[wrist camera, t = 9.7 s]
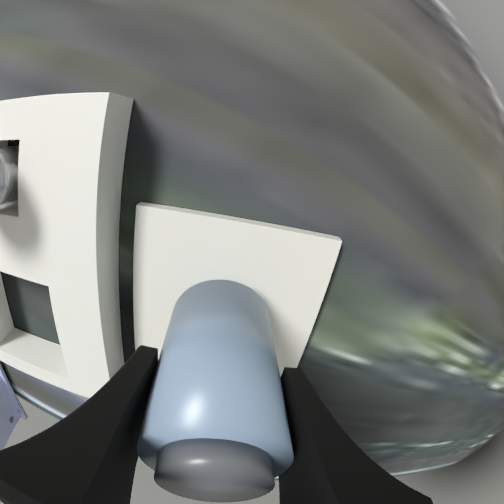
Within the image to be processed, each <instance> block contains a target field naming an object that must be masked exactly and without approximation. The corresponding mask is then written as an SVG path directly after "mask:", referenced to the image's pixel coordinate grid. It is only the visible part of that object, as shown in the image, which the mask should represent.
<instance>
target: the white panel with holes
mask: <svg viewBox="0 0 504 504" xmlns="http://www.w3.org/2000/svg"><path fill="white" fill-rule="evenodd" d="M133 100H134V99H132V98H128V97H125V96H121V95H117V94H113V93H109V92H99V93H69V94H54V95H42V96H33V97H24V98H17V99H10V100H4V101H0V148H4V147H8V140H20V142H19V157H18V199H16V198H15V199H13V200H10V201H8V202H6V203H3V204H1V205H0V361H2V362H4V363H6V364H8V365H10V366H12V367H14V368H16V369H18V370H20V371H22V372H25V373H27V374H29V375H31V376H33V377H36V378H38V379H40V380H43V381H45V382H47V383H50V384H52V385H55V386H57V387H60V388H63V389H65V390H68V391H71V392H73V393H76V394H79V395H82V396H85V397H88V398H91V397H92V396H93V395H94V394H95V393H96V392H97V391H98V390H99V389H100V388H101V387H103V386H104V385H105V384H106V383H107V382H108V381H109V380H110V379H111V378H112V376H113V375H114V374H115V373H116V372H117V371H118V370H119V369H120V368H121V367H122V366H123V365H124V355H123V345H122V334H121V320H120V302H119V221H120V203H121V189H122V178H123V168H124V159H125V151H126V143H127V136H128V129H129V123H130V116H131V111H132V105H133ZM1 272H4V273H7V274H10V275H13V276H16V277H19V278H22V279H25V280H29V281H32V282H35V283H39V284H42V285H45V286H49V293H50V299H51V304H52V310H53V315H54V320H55V324H56V329H57V333H58V337H59V341H60V345H59V344H56V343H53V342H50V341H48V340H45V339H42V338H40V337H37V336H34V335H32V334H29V333H27V332H24V331H22V330H19V329H17V328H15V327H14V324H13V321H12V317H11V314H10V310H9V306H8V303H7V298H6V294H5V290H4V285H3V281H2V276H1Z"/></svg>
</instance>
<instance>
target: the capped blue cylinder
mask: <svg viewBox="0 0 504 504" xmlns="http://www.w3.org/2000/svg"><path fill="white" fill-rule="evenodd" d="M137 453H138V455H139V457H140V458H141V460H142V461H143V462H144V463H145V464H146V465H147V466H149V467H150V468H151V469H153V470H155V474H154V480H155V482H156V483H157V484H158V485H159V486H160V487H161V488H163V489H165V490H167V491H169V492H171V493H173V494H176V495H178V496H182V497H185V498H189V499H194V500H199V501H207V502H237V501H245V500H250V499H254V498H257V497H261V496H263V495H265V494H267V493H269V492H270V491H271V490H273V488H274V486H275V482H274V478H275V477H277V476H279V475H281V474H282V473H284V472H285V471H286V470H287V469H288V468H289V467H290V466H291V465H292V462H293V459H294V455H293V449H292V443H291V437H290V431H289V425H288V419H287V414H286V408H285V402H284V396H283V390H282V384H281V379H280V373H279V367H278V361H277V355H276V350H275V344H274V338H273V333H272V327H271V321H270V316H269V311H268V308H267V306H266V304H265V302H264V301H263V299H262V298H261V297H260V296H259V295H258V294H257V293H256V292H255V291H254V290H252V289H251V288H249V287H247V286H245V285H243V284H241V283H238V282H234V281H230V280H219V279H218V280H209V281H204V282H201V283H198V284H196V285H193V286H192V287H190V288H189V289H187V290H186V291H185V292H184V293H183V294H182V295H181V296H180V297H179V298H178V300H177V302H176V304H175V306H174V309H173V312H172V316H171V319H170V322H169V325H168V329H167V332H166V335H165V339H164V342H163V346H162V349H161V353H160V356H159V360H158V363H157V367H156V371H155V374H154V378H153V382H152V385H151V389H150V393H149V397H148V401H147V405H146V409H145V413H144V417H143V421H142V425H141V429H140V434H139V438H138V442H137Z"/></svg>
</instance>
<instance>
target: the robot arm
mask: <svg viewBox="0 0 504 504" xmlns="http://www.w3.org/2000/svg"><path fill="white" fill-rule="evenodd" d="M157 363H158V349H157V348H153V347H148V346H144V345H141V346H139V347H138V348H137V349H136V351H135V352H134V353H133V354H132V356H131V357H130V358H129V359H128V360H127V361H126V363H125V364H124V365H123V366H122V367H121V368H120V369H119V370H118V371H117V372H116V373H115V374H114V375H113V376H112V378H111V379H110V380H109V381H108V382H107V383H106V384H105V385H104V386H103V387H101V388H100V389H99V390H98V391H97V392H96V393H95V394H94V395H93V396H92V397H91V398H89V399H88V400H87V401H86V402H85V403H84V404H82V405H81V406H80V407H79V408H77V409H76V410H75V411H73V412H72V413H71V414H69V415H68V416H67V417H65V418H64V419H62V420H61V421H59V422H58V423H56V424H55V425H53V426H52V427H50V428H48V429H46V430H45V431H43V432H41V433H39V434H37V435H35V436H33V437H31V438H30V439H27V440H25V441H23V442H21V443H19V444H16V445H14V446H11V447H8V448H5V449H4V447H5V445H6V443H7V441H8V439H9V437H10V435H11V433H12V431H13V429H14V427H15V425H16V423H17V421H18V420H19V418H20V417H22V418H24V419H27V417H28V416H27V415H26V413H25V411H24V409H23V407H22V406H21V404H20V402H19V400H18V398H17V396H16V395H15V393H14V391H13V389H12V387H11V385H10V383H9V381H8V379H7V377H6V374H5V372H4V370H3V368H2V366H1V363H0V501H1V502H3V503H4V504H130V498H131V491H132V485H133V478H134V473H135V467H136V463H137V459H138V453H137V442H138V438H139V434H140V429H141V425H142V421H143V417H144V413H145V409H146V405H147V401H148V397H149V393H150V389H151V385H152V382H153V378H154V374H155V371H156V367H157ZM280 379H281V384H282V390H283V396H284V402H285V408H286V414H287V419H288V425H289V431H290V437H291V443H292V449H293V455H294V459H293V462H292V465H291V466H290V467H289V468H288V469H287V470H286V471H285V472H284V473H282V474H281V475H279V490H280V504H433V502H432V500H431V498H429V497H427V496H425V495H423V494H422V493H420V492H418V491H416V490H414V489H412V488H410V487H408V486H407V485H405V484H404V483H402V482H400V481H399V480H397V479H396V478H394V477H393V476H392V475H390V474H389V473H388V472H386V471H385V470H384V469H382V468H381V467H380V466H379V465H378V464H376V463H375V462H374V461H373V460H371V459H370V458H369V457H368V456H367V455H366V454H365V453H364V452H363V451H362V450H361V449H360V448H359V447H358V446H357V445H356V444H355V443H354V442H353V441H352V440H351V439H350V437H349V436H348V435H347V434H346V433H345V432H344V430H343V429H342V428H341V427H340V425H339V424H338V423H337V422H336V420H335V419H334V418H333V416H332V415H331V414H330V412H329V411H328V409H327V408H326V406H325V405H324V404H323V402H322V401H321V399H320V398H319V396H318V395H317V393H316V392H315V390H314V388H313V387H312V385H311V384H310V382H309V380H308V379H307V377H306V376H305V374H304V372H303V371H302V369H301V368H291V367H284V370H283V372H282V375H281V377H280Z"/></svg>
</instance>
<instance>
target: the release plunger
mask: <svg viewBox="0 0 504 504" xmlns="http://www.w3.org/2000/svg"><path fill="white" fill-rule="evenodd" d="M18 157H19V145H15V146H10V147H4V148H0V205H1V204H3V203H6V202H8V201H10V200H13V199H15V198H17V197H18Z"/></svg>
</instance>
